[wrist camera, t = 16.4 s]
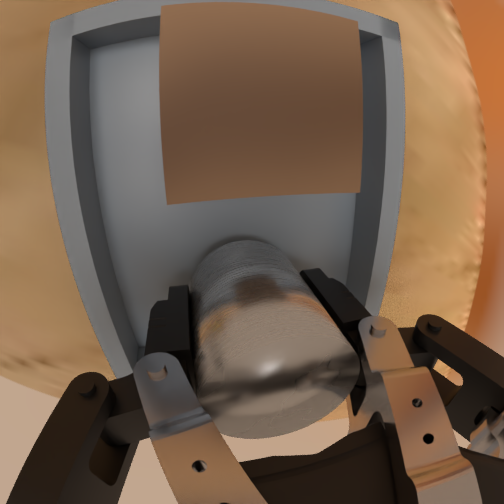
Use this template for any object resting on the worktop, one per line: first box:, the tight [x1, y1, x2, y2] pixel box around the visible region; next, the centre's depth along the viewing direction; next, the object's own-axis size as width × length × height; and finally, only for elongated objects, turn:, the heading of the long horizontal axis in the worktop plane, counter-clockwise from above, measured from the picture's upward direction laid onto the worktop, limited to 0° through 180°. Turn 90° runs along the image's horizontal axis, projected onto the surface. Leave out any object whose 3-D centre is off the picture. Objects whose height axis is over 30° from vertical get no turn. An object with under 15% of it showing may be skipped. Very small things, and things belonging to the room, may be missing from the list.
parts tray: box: [45, 0, 405, 379], centre depth 11 cm, size 13×16×3 cm
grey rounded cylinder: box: [190, 240, 360, 439], centre depth 9 cm, size 4×4×6 cm
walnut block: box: [159, 2, 363, 205], centre depth 7 cm, size 4×4×5 cm
